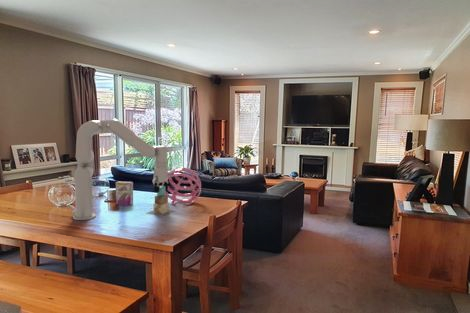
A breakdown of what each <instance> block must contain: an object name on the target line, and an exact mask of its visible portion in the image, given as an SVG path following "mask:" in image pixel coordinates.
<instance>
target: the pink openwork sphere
mask: <svg viewBox="0 0 470 313" xmlns="http://www.w3.org/2000/svg"><path fill="white" fill-rule="evenodd" d="M183 172H186V173H183ZM187 173H189V174H187ZM168 176H170V178H169V182H168V183H169V184H170V185H171V186H172V187H173V188H174V189H172V188H171V187H170V186H169V185H168V190H165V195H168V198H169V199H170V201H171V204H172V205H173V206H176V205H177V204H178V203H181V205H183V206H190V205H192V204H193V203H194V202H195V200H196V199H198V197H200V195H201V193H202V181H201V179H200V177H199V176H198V174H197V173H196V172H195V171H194V170H192V169H190V168H188V167H176V168H174V169H172V170H171V171H169V172H168ZM173 177H174V178H175V180H176V181H178V182H177V183H176V182H174V180H173ZM180 177H181V178H180ZM184 177H185V178H187V179H184ZM193 181H194V182H195V183H194V184H193ZM161 184H162V185H161V186H163V184H164V182H162V183H161ZM181 184H190V186H181ZM196 187H198V188H197V189H196ZM195 189H196V190H195ZM179 190H180V191H191V192H190V193H181V192H178V191H179ZM167 191H168V192H170V194H171V195H170V194H169V193H168V192H167ZM177 197H181V198H188V199H180V198H177ZM189 197H191V198H189Z"/></svg>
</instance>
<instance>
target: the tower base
mask: <svg viewBox="0 0 470 313" xmlns="http://www.w3.org/2000/svg"><path fill="white" fill-rule="evenodd" d="M169 208H170V202H169V201H168V203H165V204H163V205H162V204H155V202H154V203H153V210H154V213H159V214H164V213H166V212H169V210H170V209H169Z"/></svg>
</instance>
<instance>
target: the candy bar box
mask: <svg viewBox="0 0 470 313" xmlns="http://www.w3.org/2000/svg"><path fill="white" fill-rule="evenodd" d="M133 204H134V182H133V181H120V180H119V181H115V205H117V206H133Z"/></svg>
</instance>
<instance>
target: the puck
mask: <svg viewBox="0 0 470 313" xmlns="http://www.w3.org/2000/svg"><path fill="white" fill-rule="evenodd" d="M158 186H159V192H156V193H157V194H156V195H157V196H165V195H166V194H165V191H166V190H165V186H162V185H158Z"/></svg>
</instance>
